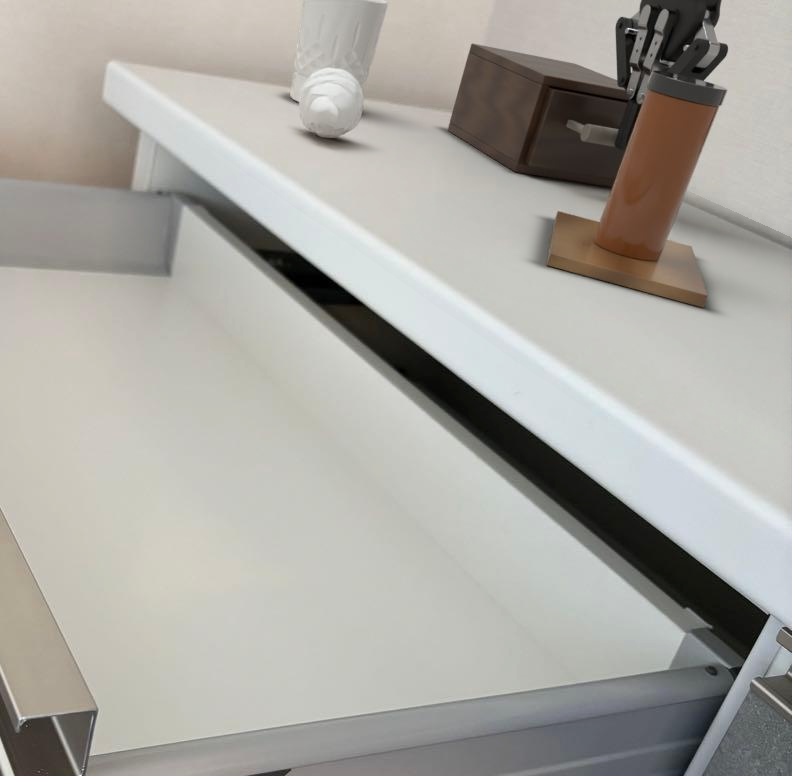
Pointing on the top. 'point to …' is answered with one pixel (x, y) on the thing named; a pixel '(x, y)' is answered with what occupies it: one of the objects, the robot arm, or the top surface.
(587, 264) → the cork mat
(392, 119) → the top surface
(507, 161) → the cabinet
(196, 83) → the top surface
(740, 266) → the top surface
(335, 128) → the garlic bulb
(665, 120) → the spice jar
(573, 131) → the drawer
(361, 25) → the white tapered cylinder
